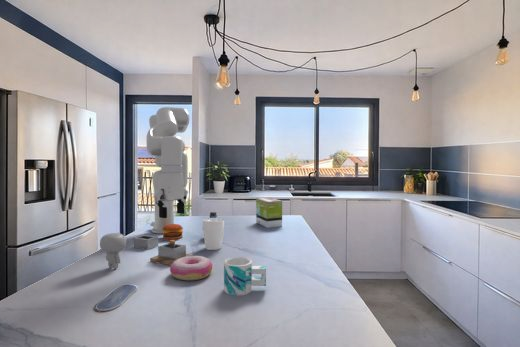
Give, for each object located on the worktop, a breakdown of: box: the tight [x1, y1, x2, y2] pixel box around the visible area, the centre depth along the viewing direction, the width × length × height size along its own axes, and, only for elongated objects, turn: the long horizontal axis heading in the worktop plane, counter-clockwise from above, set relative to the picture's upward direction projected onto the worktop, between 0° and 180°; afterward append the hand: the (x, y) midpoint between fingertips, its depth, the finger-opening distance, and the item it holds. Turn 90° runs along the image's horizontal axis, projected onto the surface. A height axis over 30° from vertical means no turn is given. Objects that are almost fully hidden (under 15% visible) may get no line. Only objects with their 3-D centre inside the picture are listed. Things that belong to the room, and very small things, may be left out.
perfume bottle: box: [209, 211, 218, 218], centre depth 153 cm, size 6×6×12 cm
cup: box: [202, 217, 225, 251], centre depth 135 cm, size 9×9×12 cm
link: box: [157, 242, 187, 260], centre depth 119 cm, size 8×6×4 cm
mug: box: [223, 256, 267, 296], centre depth 93 cm, size 8×12×8 cm
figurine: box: [99, 232, 127, 270], centre depth 110 cm, size 8×8×12 cm
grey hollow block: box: [133, 234, 159, 251], centre depth 137 cm, size 8×6×4 cm
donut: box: [169, 255, 213, 281], centre depth 104 cm, size 14×13×5 cm
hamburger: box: [162, 223, 184, 241], centre depth 152 cm, size 9×10×7 cm
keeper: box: [149, 240, 195, 266], centre depth 119 cm, size 12×10×7 cm
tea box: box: [255, 197, 283, 229], centre depth 183 cm, size 15×10×15 cm, turn 25°
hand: (172, 215), depth 120 cm, fingers open, 9 cm apart
